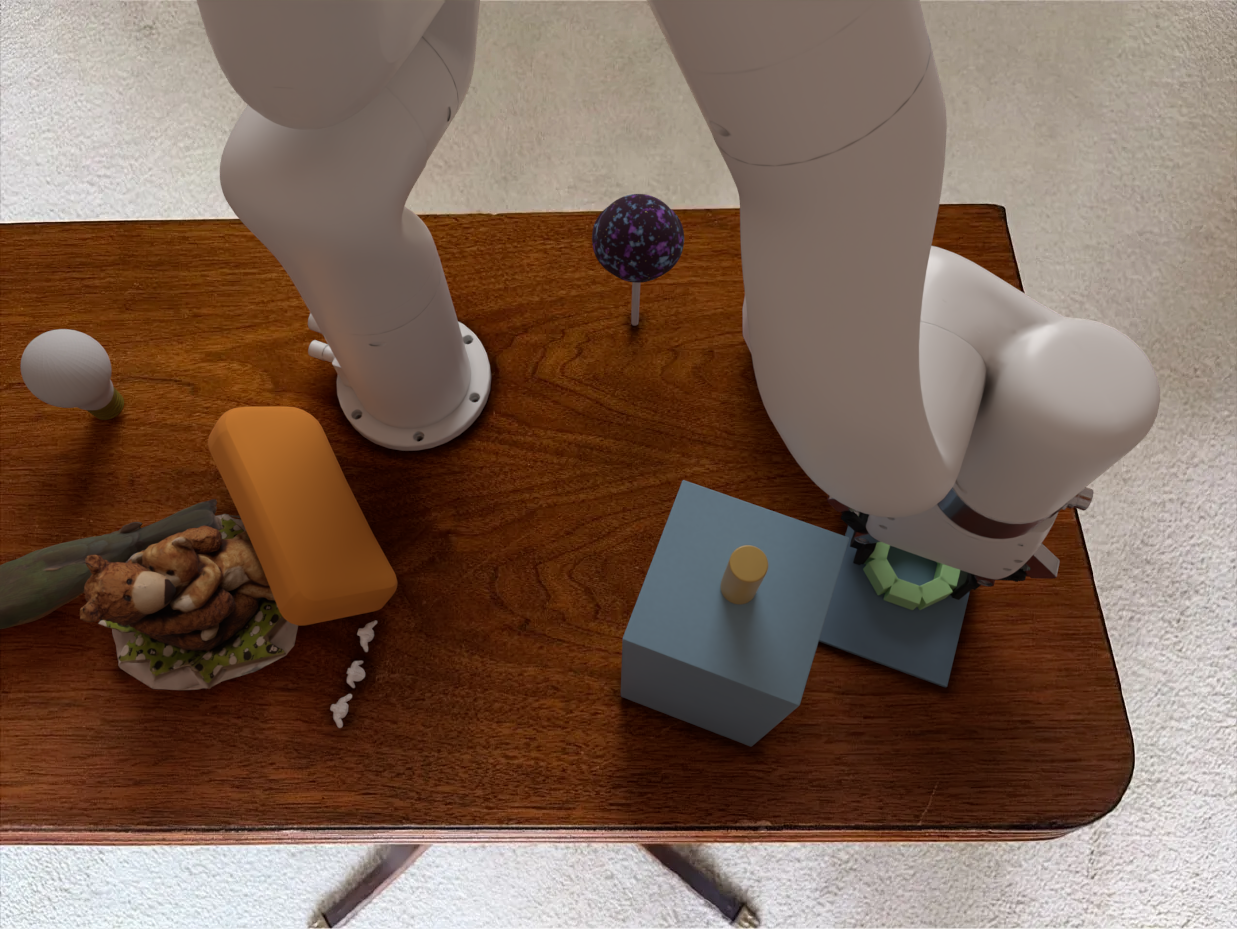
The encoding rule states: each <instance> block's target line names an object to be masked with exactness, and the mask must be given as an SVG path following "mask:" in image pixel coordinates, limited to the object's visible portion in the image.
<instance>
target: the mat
mask: <svg viewBox="0 0 1237 929" xmlns="http://www.w3.org/2000/svg"><path fill="white" fill-rule="evenodd" d="M853 533H854V530H853V529H852V528H851V527H849V526H848V525H847V526H846V530H845V534H844V536H846V537H849V541H848V544H847V548H846V551H845V554H844V558H843V561H842V564H841V568H840V571H839V575H838V578H837V581H836V585H835V588H834V591H833V595H832V598H831V601H830V605H829V608H828V612H827V615H826V618H825V622H824V625H823V628H822V632H821V635H820V639H819V642H818V643H822V644H825V645H827V646H830V647H833V648H835V649H838V650H841V651H844V652H847V653H849V654H852V655H855V656H858V657H861V658H863V659H866V660H867V661H868V660H869V661H871V662H873V663H876V664H880V665H882V666H886V667H887V668H891V669H892V670H895V671H898V672H901V673H903V674H907V675H910V676H912V677H915V678H917V679H920V680H923V681H926V682H928V683H931V684H934V685H937V686H940V687H942V688H947V687H948V685H949V680H950V677H951V673H952V668H953V663H954V659H955V656H956V651H957V647H958V642H959V638H960V634H961V630H962V626H963V622H964V617H965V614H966V611H967V610H966V609H967V604H968V600H969V596H970V592H971V591H970V592H968V593H967V594H966V595H965V596H963V597H962V598H961V599H959V600H957V599H954V598H952V596H951V595H949V596H947V597H946V598H945V599H943V600H941V601H938V602H936V603H934V604H932V605H930V606H928V607H926V608H924V609H921V610H919V609H918V607H916V608H915V609H914V610H910V609H907V608H905V607H902V606H899V605H896V604H893V603H890V602H888V601H885V600H884V595H885V593H883V594H881V595H877V593H876V591H875V590H874V588H873V586H872V584H871V583H870V581H869V579H868V577H867V576H866V574H865V572H864V570H863V568H864V567H865V566H866V564H863V565H862V564H861V565H857V564H854V563H853V561H854V558H855V554H856V551H857V549H855V548H852V547H850V543H851V539H852V536H853ZM887 560H888V562H889V564H890V566H891V567H892V569H893V571H894V572H895V574H896V576H897V577H898V579H901V580H904V581H907V582H910V583H913V584H916V585H918V586H921V585H923V584H925V583H927V582H930V581H932V580H933V579H934V575H935V571H936V567H937V562H936V561H933V560H930V559H927V558H924V557H921V556H918V555H915V554H913V553H910V552H907V551H904V550H901V549H899V548H896V547H893V546H890V548H889V551H888V555H887Z"/></svg>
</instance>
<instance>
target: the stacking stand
mask: <svg viewBox="0 0 1237 929" xmlns="http://www.w3.org/2000/svg"><path fill="white" fill-rule="evenodd" d="M678 488H679V489H678V491H677V494H676V497H675V499H674V502H673V504H672V507H671V509H670V511H669V515H668V517H667V520H666V522H665V525H664V528H663V530H662V533H661V536H660V539H659V541H658V544H657V545H656V546H657V547H656V549H655V552H654V554H653V557H652V561H651V562H650V565H649V567H648V570H647V573H646V575H645V578H644V581H643V583H642V587H641V588H640V591H639V594H638V596H637V599H636V602H635V604H634V607H633V609H632V612H631V615H630V616H629V620H628V623H627V625H626V628H625V631H624V634H623V635H622V638H621V639H622V640H621V642H622V643H621V673H620V674H621V675H620V697H621V698H624V699H626V700H629V701H631V702H634V703H636V704H639V705H641V706H644V707H647V708H650V709H652V710H655V711H658V712H659V713H662V714H665V715H668V716H670V717H673V718H676V719H678V720H681V721H683V722H685V723H688V724H691V725H694V726H696V727H697V728H698V727H699V728H702V729H704V730H706V731H709V732H712V733H715V734H717V735H719V736H722V737H725V738H727V739H730V740H732V741H735V742H737V743H740V744H742V745H745V746H748V747H751V748H752V747H753V746H754V745H755V744H757V743H758V742H759V741H760V740H761V739H762V738H764V737H765V736H766V735H767V734H768V733H770V731H772V730H773V729H774V728H775V727H776V726H778V725H779V724H780V723H781V722H782V721H783V720H784V719H786V718H787V717H789V715H790V714H792V713H793V712H794V711H795V710H796V709H797V708H799V706H800V705H801V702H802V699H803V696H804V692H805V689H806V685H807V683H808V679H809V675H810V672H811V668H812V665H813V662H814V658H815V655H816V652H817V649H818V645H819V643H820V642H819V639H820V635H821V632H822V628H823V625H824V622H825V618H826V615H827V612H828V608H829V605H830V601H831V598H832V595H833V591H834V588H835V585H836V581H837V578H838V575H839V571H840V568H841V564H842V561H843V558H844V554H845V551H846V548H847V544H848V541H849V537H846V536H845V535H843V534H840V533H838V532H834V531H831V530H828V529H825V528H822V527H820V526H817V525H814V524H811V523H808V522H805V521H803V520H799V519H797V518H794V517H792V516H791V517H790V516H788V515H785V514H782V513H779V512H777V511H773V510H772V509H771V510H770V509H768V508H765V507H762V506H759V505H756V504H753V503H751V502H748V501H745V500H742V499H739V498H737V497H733V496H731V495H728V494H725V493H722V492H719V491H716V490H713V489H710V488H708V487H705V486H702V485H699V484H696V483H693V482H691V481H687V480H685V479H682V481H681V483H680V486H679V487H678Z"/></svg>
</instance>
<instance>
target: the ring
mask: <svg viewBox="0 0 1237 929" xmlns="http://www.w3.org/2000/svg"><path fill="white" fill-rule="evenodd" d="M889 548H890V545H888V544H885V543H883V542H878V543H877V544H876V547H875V550H874V552H873V553H872V554H871V555H870V557H869V558H868V559H867V560H866V562H865V563H864V564H866V566H865V567H864V568H863V570H864V572H865V574H866V576H867V577H868V579H869V581H870V583H871V584H872V586H873V588H874V590H875V591H876V593H877V595H881V594H883V593H885V595H884V600H885V601H888V602H890V603H893V604H896V605H899V606H902V607H905V608H907V609H910V610H914V609H915V608H916V607H918V609H919V610H921V609H924V608H926V607H928V606H930V605H932V604H934V603H936V602H938V601H941V600H943V599H945V598H946V597H947V596H949V595H950V594H951V593H952V592H953V591H952V590H953V589H954V588H956V586H957V582H958V578H959V574H960V570H959V569H956V568H953V567H950V566H947V565H944V564H941V563H939V562H937V567H936V571H935V575H934V579H933V580H932V581H930V582H927V583H925V584H923V585H921V586H918V585H916V584H913V583H910V582H907V581H904V580H901V579H898V577H897V576H896V574H895V572H894V571H893V569H892V567H891V566H890V564H889V562H888V560H887V555H888V551H889Z"/></svg>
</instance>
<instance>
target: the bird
mask: <svg viewBox="0 0 1237 929" xmlns="http://www.w3.org/2000/svg"><path fill="white" fill-rule="evenodd" d="M217 504H218V501H217V499H216V498H212V499H210V500H206V501H202V502H198V503H196V504H193V505H191V506H189V507H186V508H183V509H181V510H179V511H177V512H175V513H173V514H171V515H169V516H166V517H164V518H161V519H160V520H158V521H156V522H154V523H150V524H148V525H146V526H143V527H142V525H143V522H140V521H132V522H129V523H128V524H127V523H126V524H124V525H123V526H122V527H121V528H120V529H119V530H115V531H112V532H111V533H105V534H102V535H96V536H95V535H94V536H89V537H82V538H78V539H74V540H70V541H66V542H61V543H57V544H53V545H50V546H47V547H43V548H41V549H37V550H34V551H31V552H29V553H27V554H25V555H23V556H20V557H18V558H15V559H13V560H9V561H6V562H4V563H2V564H0V630H4V629H9V628H12V627H16V626H21V625H24V624H28V623H29V624H30V623H32V622H35V621H38V620H41V619H42V618H44V617H46V616H48V615H50V614H52V613H53V612H55V611H57V610H58V609H59V608H62V607H63V606H65V605H66V604H68V603H70V602H72V601H74V600H75V599H77V598H78V597H80V596H81V595H83V594H85V592H84V586H85V583H86V582H87V580H88V579H89V578H90V576H91V575H92V573H91V572H90V570H89V568H88V567H87V566H86V564H85V563H84V562H86V557H87V556H89V555H99V556H101V557H102V558H103V559H106V560H107V561H108V562H123V563H126V561H128V559H129V558H130V557H131V556H132V555H134V554H136V553H138V552H140V551H143V550H145V549H147V547H148V546H150V545H152V544H156V543H159V542H160V541H162V540H164V539H165V538H167V537H169V536H171V535H174V534H176V533H182V532H184V531H185V530H187V529H190V528H199V527H201V526H209V527H212V528H214V529H218V530H221V529H223V526H222V522H221V519H220V518H219V517H216V516H217V515H215V514H216V512H217V509H218V506H217Z"/></svg>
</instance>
